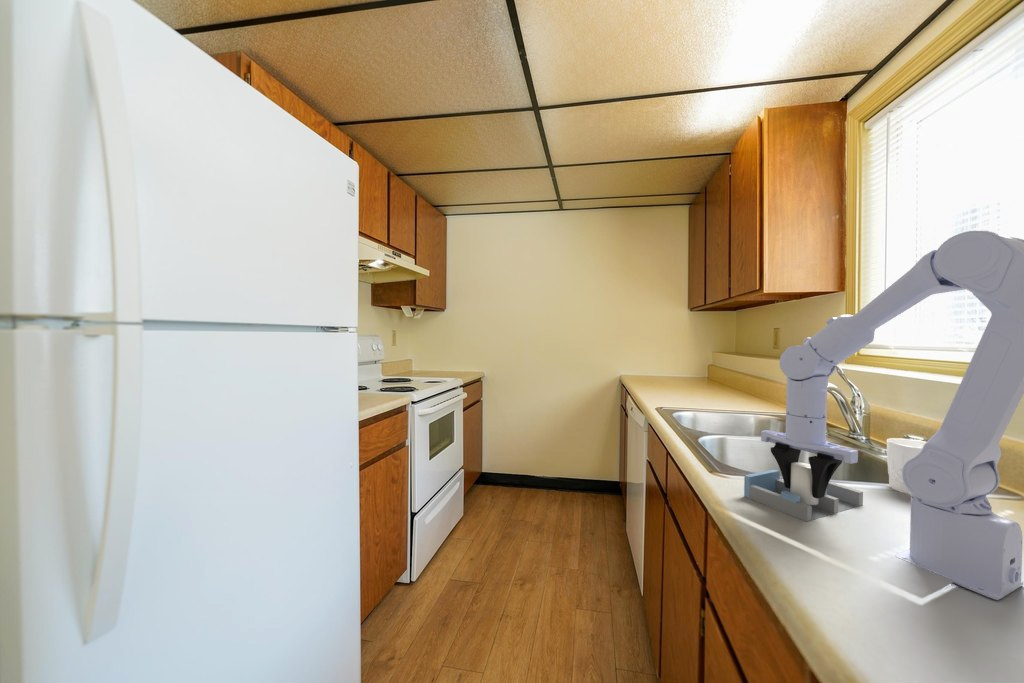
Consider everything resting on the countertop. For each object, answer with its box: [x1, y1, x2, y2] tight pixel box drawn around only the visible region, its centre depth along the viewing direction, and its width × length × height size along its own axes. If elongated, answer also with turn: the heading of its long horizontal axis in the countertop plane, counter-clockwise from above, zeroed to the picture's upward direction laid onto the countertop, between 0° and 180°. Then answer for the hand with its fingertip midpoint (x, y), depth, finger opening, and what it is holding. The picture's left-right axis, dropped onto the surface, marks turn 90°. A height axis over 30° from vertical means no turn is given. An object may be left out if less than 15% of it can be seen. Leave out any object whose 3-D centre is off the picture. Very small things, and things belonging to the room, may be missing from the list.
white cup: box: [886, 437, 927, 496], centre depth 79 cm, size 8×8×10 cm
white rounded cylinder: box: [790, 461, 818, 505], centre depth 70 cm, size 4×4×6 cm
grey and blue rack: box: [743, 469, 864, 523], centre depth 73 cm, size 11×16×5 cm
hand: (804, 491), depth 69 cm, fingers closed on white rounded cylinder, 4 cm apart
